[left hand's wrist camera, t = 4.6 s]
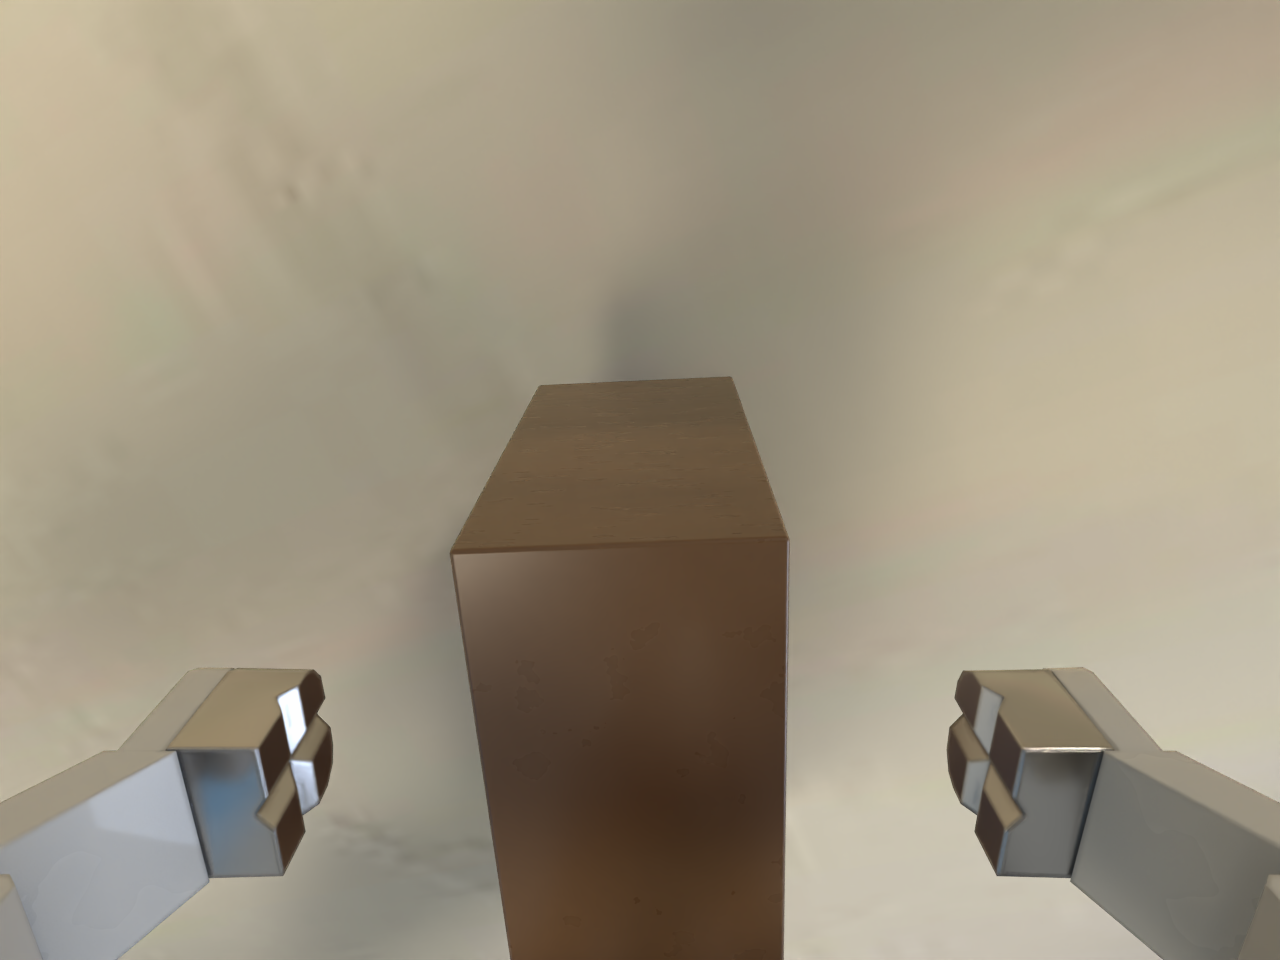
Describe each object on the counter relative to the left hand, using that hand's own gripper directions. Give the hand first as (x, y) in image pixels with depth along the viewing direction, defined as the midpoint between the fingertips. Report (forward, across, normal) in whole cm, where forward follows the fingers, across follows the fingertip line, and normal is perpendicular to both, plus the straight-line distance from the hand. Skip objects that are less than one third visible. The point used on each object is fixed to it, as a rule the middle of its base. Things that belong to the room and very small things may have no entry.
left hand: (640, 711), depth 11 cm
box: (+15, 0, +10) cm, 18 cm away
